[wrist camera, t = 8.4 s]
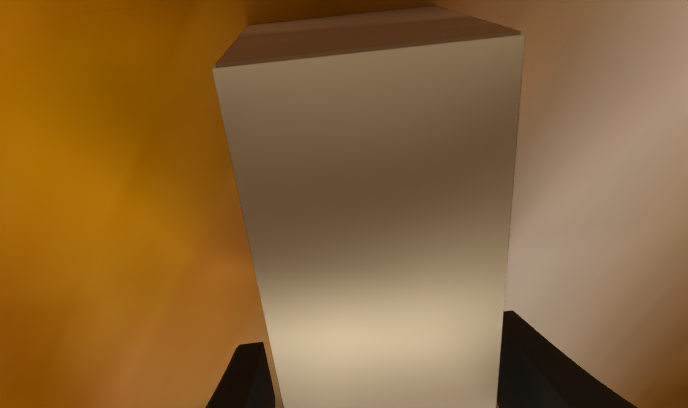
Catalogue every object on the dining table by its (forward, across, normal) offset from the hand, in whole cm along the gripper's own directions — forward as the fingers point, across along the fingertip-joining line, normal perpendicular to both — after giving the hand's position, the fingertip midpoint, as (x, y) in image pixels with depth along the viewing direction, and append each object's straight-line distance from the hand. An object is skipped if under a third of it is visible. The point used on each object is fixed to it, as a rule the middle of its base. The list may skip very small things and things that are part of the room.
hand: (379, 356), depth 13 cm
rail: (+3, 0, 0) cm, 3 cm away
